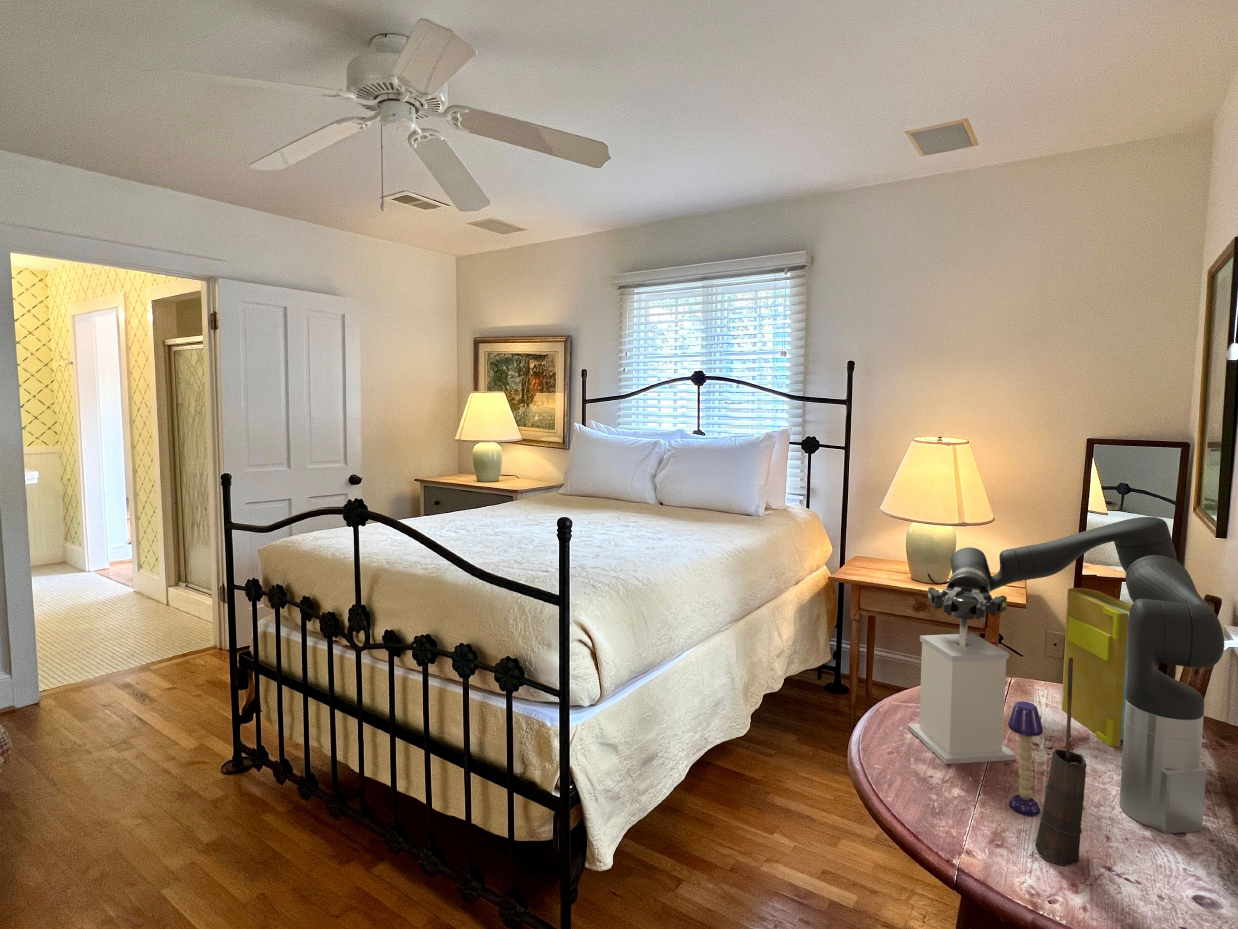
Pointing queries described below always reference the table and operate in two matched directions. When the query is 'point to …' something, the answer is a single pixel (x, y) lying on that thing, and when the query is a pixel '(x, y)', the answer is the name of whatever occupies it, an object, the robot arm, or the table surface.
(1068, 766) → the butter churn
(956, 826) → the table surface
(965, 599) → the plunger
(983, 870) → the table surface
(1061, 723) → the table surface
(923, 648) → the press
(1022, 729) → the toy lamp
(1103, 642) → the book
